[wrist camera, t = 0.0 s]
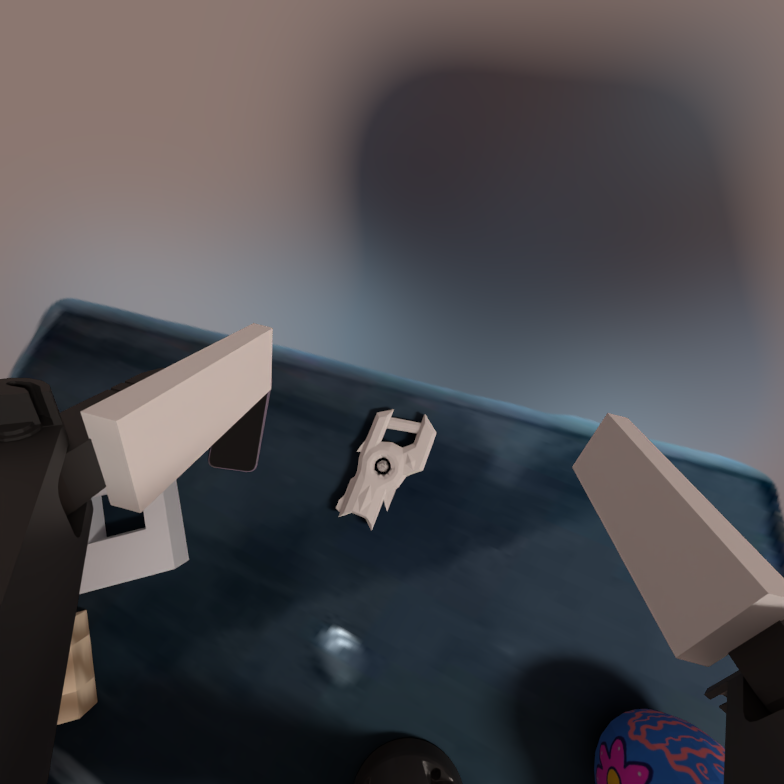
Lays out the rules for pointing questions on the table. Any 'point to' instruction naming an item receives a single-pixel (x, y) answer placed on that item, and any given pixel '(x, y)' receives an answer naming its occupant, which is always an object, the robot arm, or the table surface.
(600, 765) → the ceramic pot
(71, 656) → the wooden square frame
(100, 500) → the port
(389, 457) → the angular bracket part
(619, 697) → the table surface
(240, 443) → the smartphone
